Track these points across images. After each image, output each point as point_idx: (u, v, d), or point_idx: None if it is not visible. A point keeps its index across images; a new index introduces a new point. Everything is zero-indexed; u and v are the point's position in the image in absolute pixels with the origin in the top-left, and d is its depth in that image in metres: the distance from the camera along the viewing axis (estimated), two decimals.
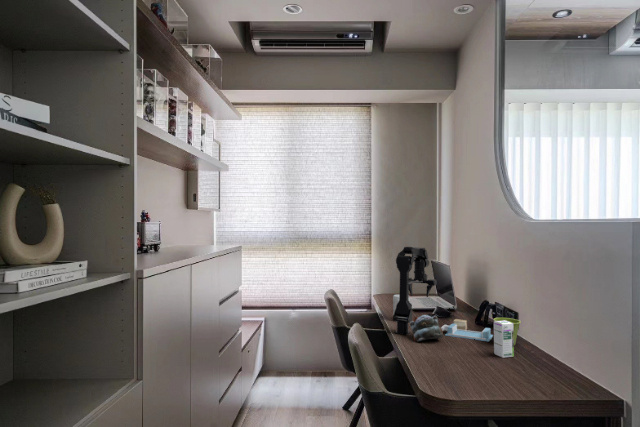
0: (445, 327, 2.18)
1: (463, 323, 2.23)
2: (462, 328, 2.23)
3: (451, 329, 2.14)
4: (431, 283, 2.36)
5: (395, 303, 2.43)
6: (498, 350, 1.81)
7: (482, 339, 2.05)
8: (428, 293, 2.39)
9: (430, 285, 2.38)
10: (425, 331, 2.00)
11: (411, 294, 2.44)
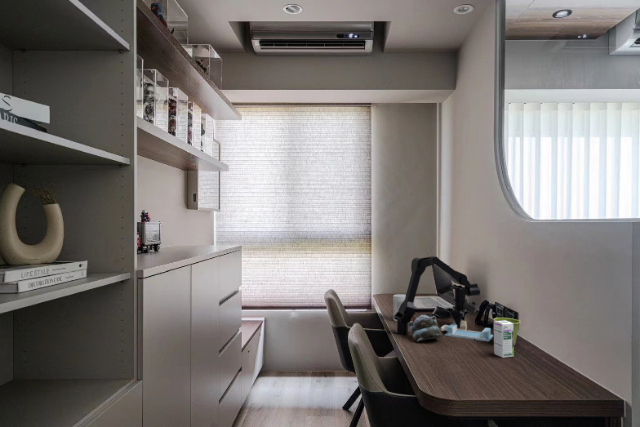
0: (445, 327, 2.18)
1: (463, 323, 2.23)
2: (462, 328, 2.23)
3: (451, 329, 2.14)
4: None
5: (395, 303, 2.43)
6: (498, 350, 1.81)
7: (482, 339, 2.05)
8: (457, 324, 2.21)
9: None
10: (424, 331, 2.00)
11: None
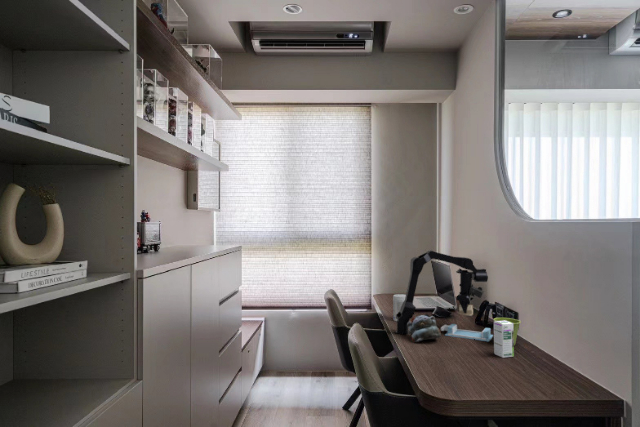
0: (445, 327, 2.18)
1: (469, 307, 2.15)
2: (468, 312, 2.15)
3: (451, 329, 2.14)
4: None
5: (395, 303, 2.43)
6: (498, 350, 1.81)
7: (482, 339, 2.05)
8: (463, 308, 2.15)
9: None
10: (423, 331, 1.99)
11: None
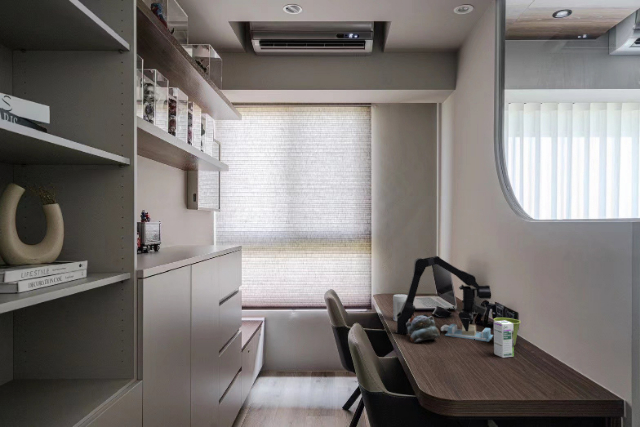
0: (445, 327, 2.18)
1: (472, 328, 2.11)
2: (471, 333, 2.11)
3: (451, 329, 2.14)
4: None
5: (395, 303, 2.43)
6: (498, 350, 1.81)
7: (482, 339, 2.05)
8: (465, 326, 2.09)
9: None
10: (423, 331, 1.99)
11: None
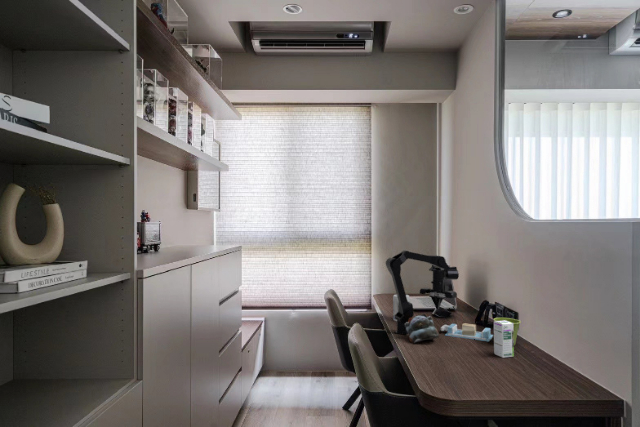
0: (445, 327, 2.18)
1: (472, 328, 2.11)
2: (471, 333, 2.11)
3: (451, 329, 2.14)
4: (449, 295, 2.14)
5: (395, 303, 2.43)
6: (498, 350, 1.81)
7: (482, 339, 2.05)
8: (438, 305, 2.20)
9: (440, 296, 2.19)
10: (422, 331, 1.98)
11: (436, 307, 2.21)
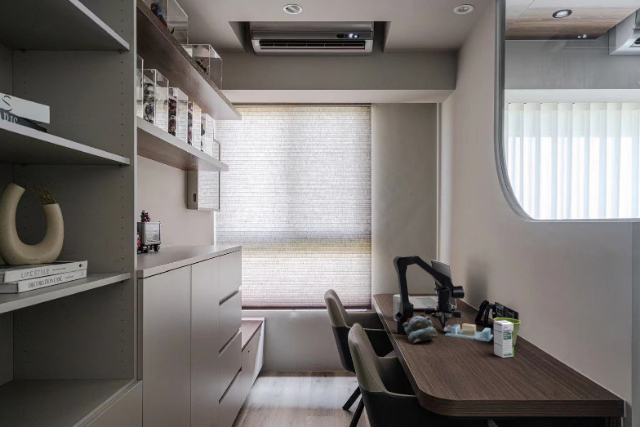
0: (448, 327, 2.18)
1: (472, 328, 2.11)
2: (471, 333, 2.11)
3: (454, 329, 2.13)
4: (457, 315, 2.14)
5: (395, 303, 2.43)
6: (498, 350, 1.81)
7: (482, 339, 2.05)
8: (445, 325, 2.19)
9: (447, 316, 2.18)
10: (421, 332, 1.98)
11: (443, 327, 2.19)
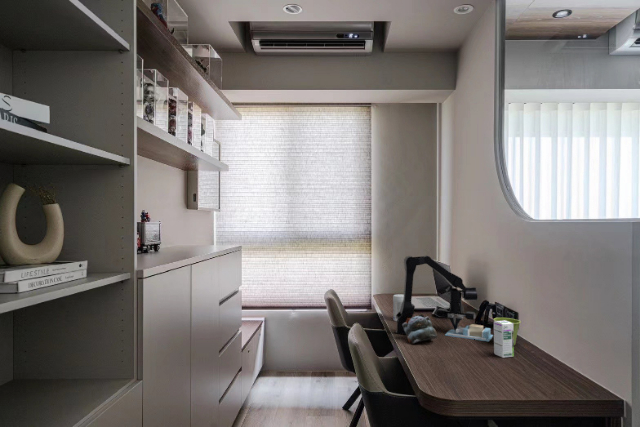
0: (460, 329, 2.14)
1: (480, 328, 2.09)
2: (478, 334, 2.09)
3: (467, 331, 2.10)
4: (470, 317, 2.10)
5: (395, 303, 2.43)
6: (498, 350, 1.81)
7: (482, 339, 2.05)
8: (457, 326, 2.16)
9: None
10: (421, 332, 1.98)
11: (455, 329, 2.16)
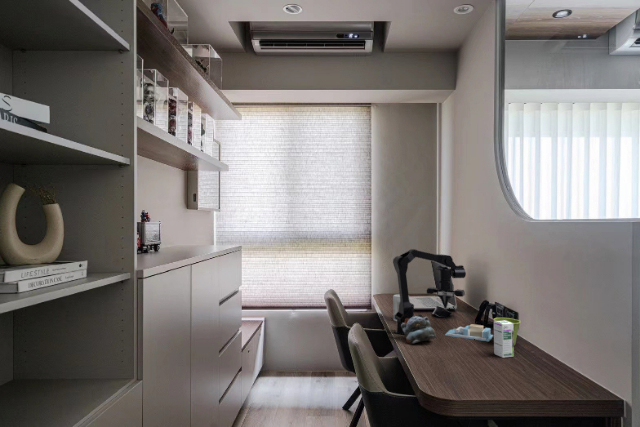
0: (460, 329, 2.14)
1: (480, 328, 2.09)
2: (479, 334, 2.09)
3: (467, 331, 2.10)
4: (459, 294, 2.16)
5: (395, 303, 2.43)
6: (498, 350, 1.81)
7: (482, 339, 2.05)
8: (447, 304, 2.22)
9: (449, 295, 2.20)
10: (420, 332, 1.97)
11: (445, 306, 2.22)
